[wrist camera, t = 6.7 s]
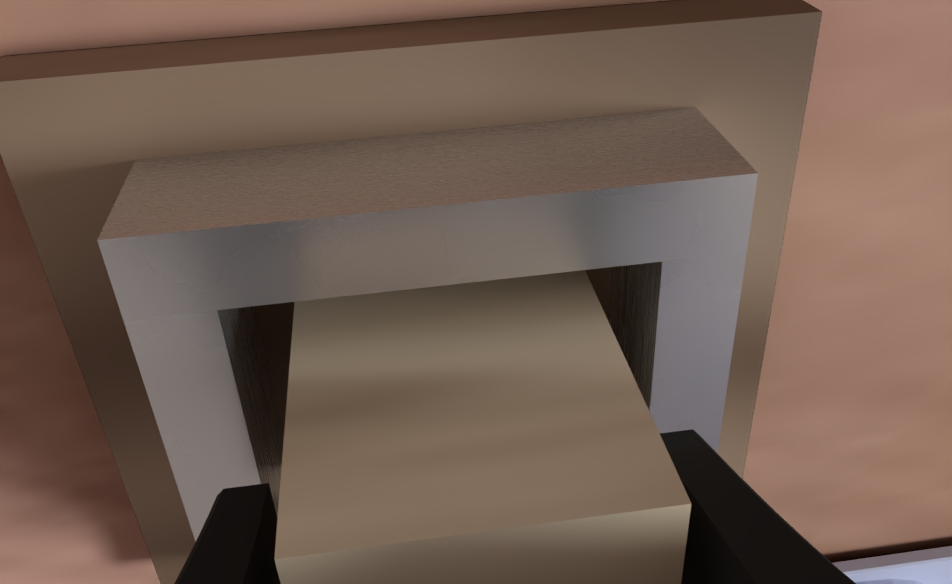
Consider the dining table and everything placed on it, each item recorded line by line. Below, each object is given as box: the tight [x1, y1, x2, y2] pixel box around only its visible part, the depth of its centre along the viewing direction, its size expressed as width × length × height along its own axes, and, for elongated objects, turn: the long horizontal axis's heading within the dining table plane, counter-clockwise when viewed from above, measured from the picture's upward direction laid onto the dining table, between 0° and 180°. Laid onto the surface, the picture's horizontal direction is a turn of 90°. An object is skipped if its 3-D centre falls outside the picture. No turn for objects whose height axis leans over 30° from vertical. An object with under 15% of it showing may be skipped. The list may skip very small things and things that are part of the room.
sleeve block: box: [274, 270, 691, 584], centre depth 13 cm, size 4×4×6 cm
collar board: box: [0, 0, 822, 584], centre depth 15 cm, size 11×12×4 cm
